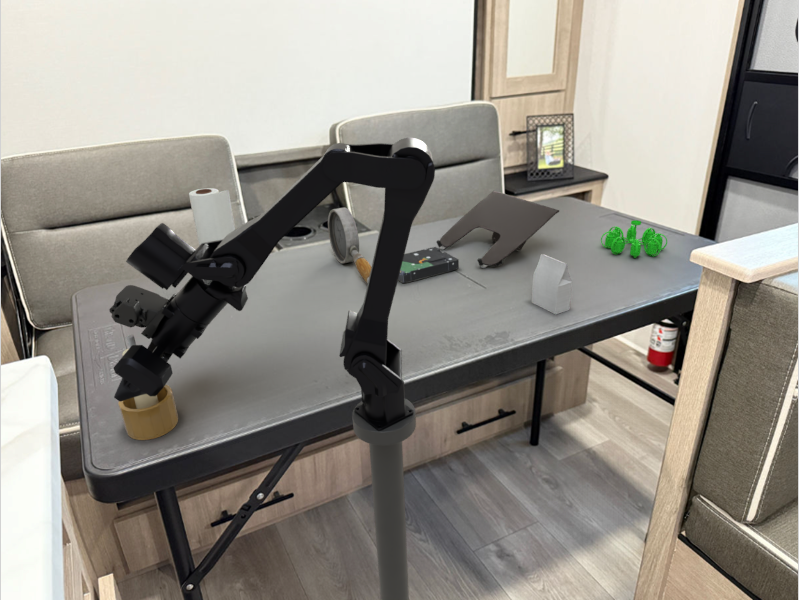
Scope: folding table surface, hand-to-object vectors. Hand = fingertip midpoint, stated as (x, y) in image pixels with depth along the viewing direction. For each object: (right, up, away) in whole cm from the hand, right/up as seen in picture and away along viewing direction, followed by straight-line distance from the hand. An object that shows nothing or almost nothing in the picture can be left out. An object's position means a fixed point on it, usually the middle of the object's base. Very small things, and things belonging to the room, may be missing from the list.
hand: (131, 380), depth 86 cm
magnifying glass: (+27, +19, +55) cm, 65 cm away
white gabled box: (+68, +10, +34) cm, 77 cm away
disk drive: (+43, +18, +53) cm, 71 cm away
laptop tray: (+61, +24, +63) cm, 91 cm away
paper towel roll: (-2, +15, +50) cm, 52 cm away
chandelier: (+95, +24, +60) cm, 115 cm away
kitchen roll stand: (+2, -7, +3) cm, 7 cm away
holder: (+2, -7, +3) cm, 8 cm away
